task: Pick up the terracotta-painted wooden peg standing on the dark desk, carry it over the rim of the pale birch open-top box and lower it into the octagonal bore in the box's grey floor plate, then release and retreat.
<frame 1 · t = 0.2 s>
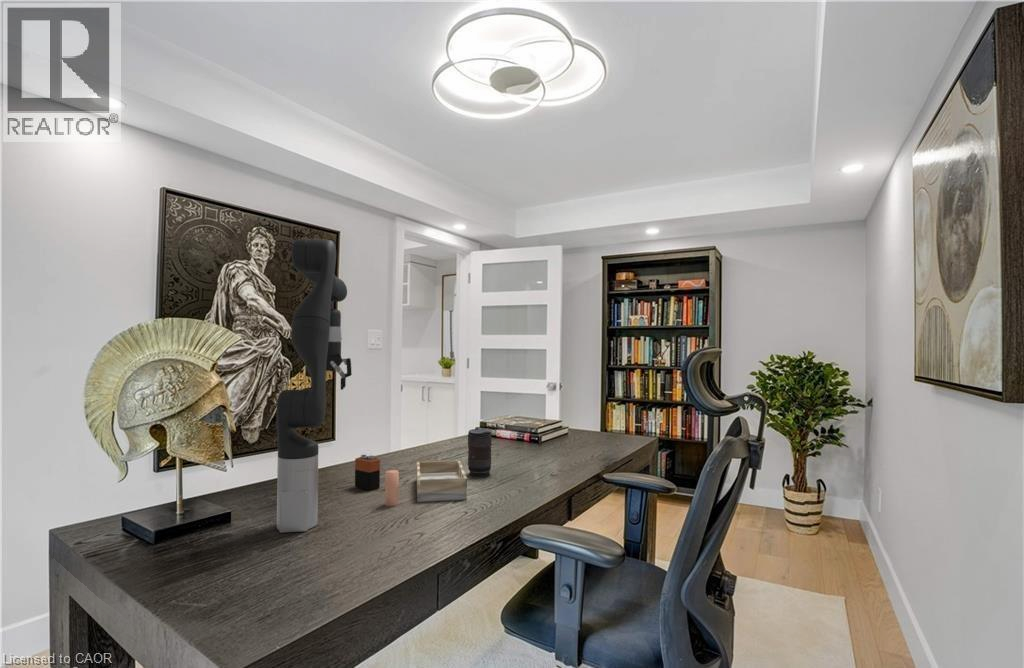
hand: (328, 389, 169), 29 cm above the table, fingers open, 8 cm apart
camera lens: (479, 475, 174), on the table
battery: (367, 488, 158), on the table
peg: (391, 504, 142), on the table
box: (440, 489, 157), on the table
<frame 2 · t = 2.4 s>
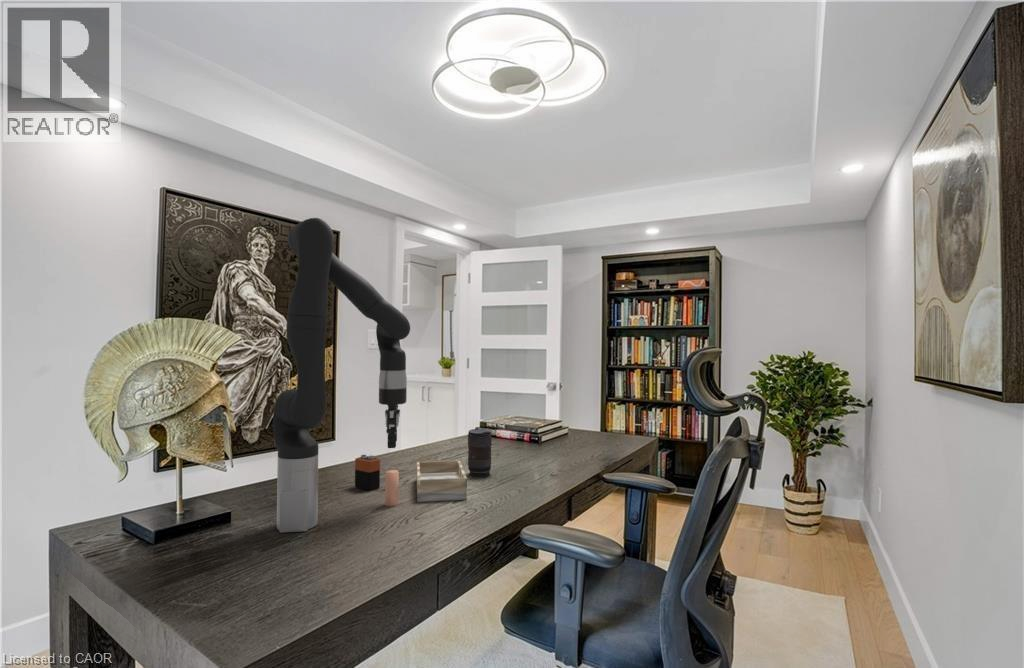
hand: (392, 444, 143), 16 cm above the table, fingers open, 8 cm apart
nothing on the table moved.
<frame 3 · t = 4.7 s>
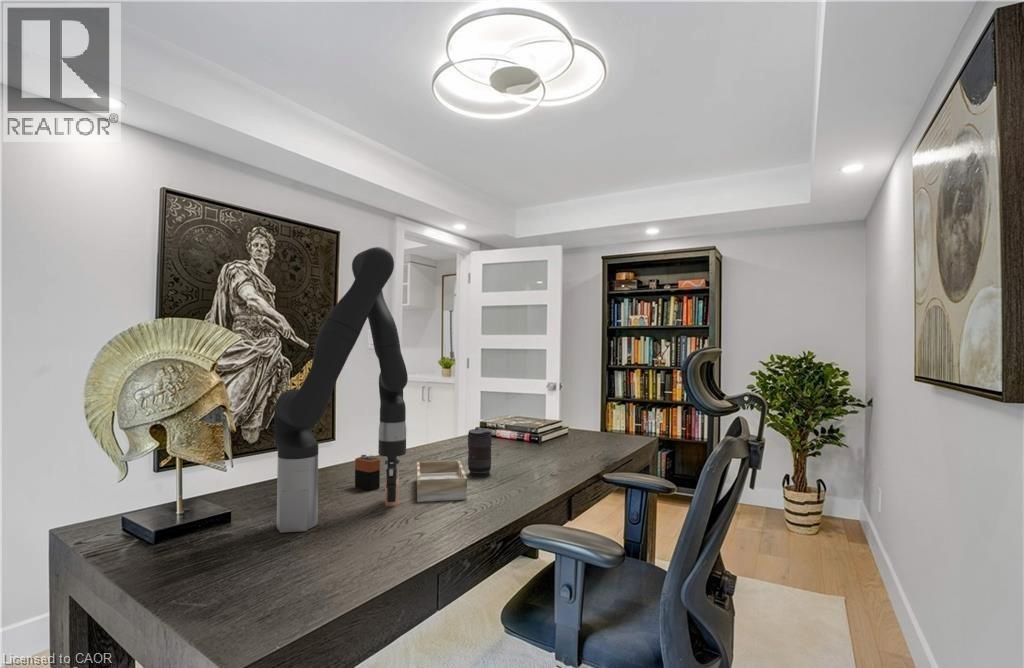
hand: (391, 499, 142), 1 cm above the table, fingers closed on peg, 3 cm apart
peg: (391, 504, 142), on the table, touching gripper
everything else where it was.
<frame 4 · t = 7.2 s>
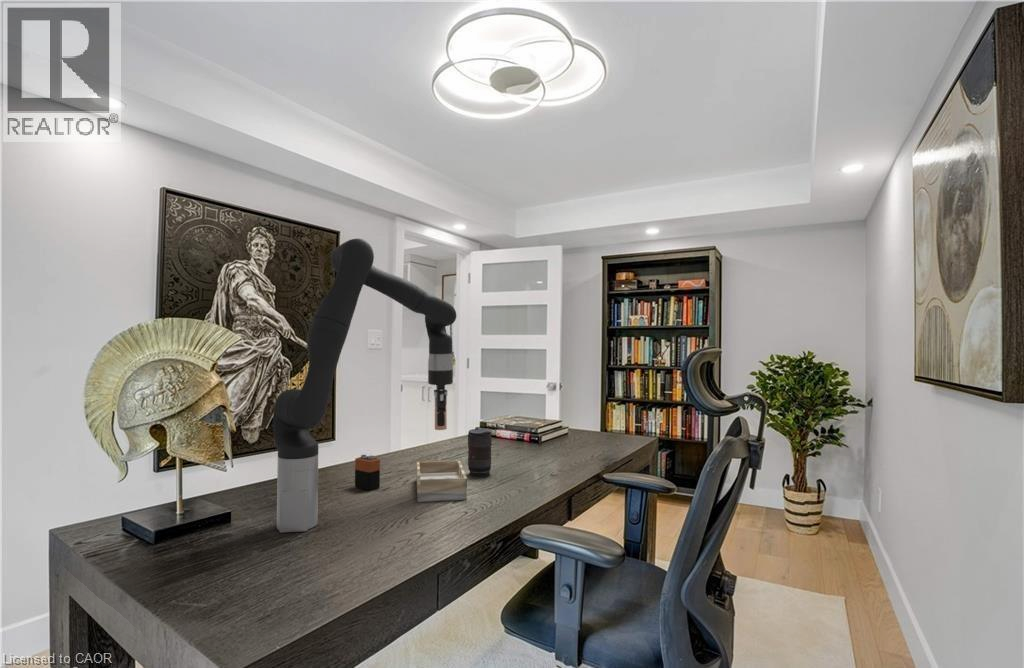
hand: (440, 424, 157), 20 cm above the table, fingers closed on peg, 3 cm apart
peg: (440, 428, 157), point 18 cm above the table, touching gripper
everything else where it was.
when the fingers open (3 cm above the table, at t = 9.9 s): peg drops 2 cm, resting in box.
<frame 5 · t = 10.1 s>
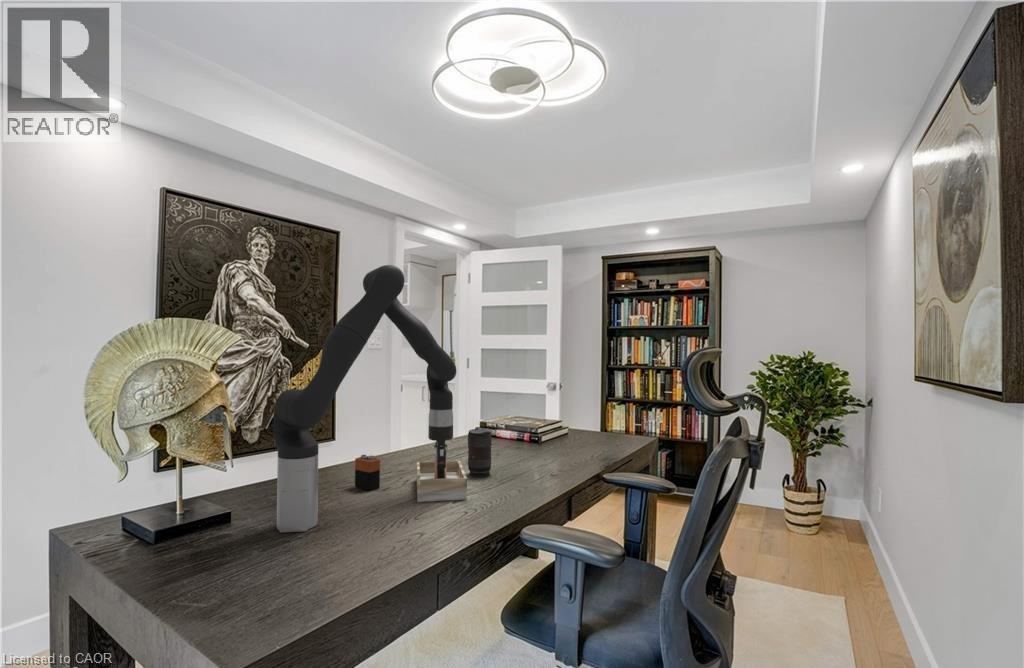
hand: (440, 478, 157), 3 cm above the table, fingers open, 5 cm apart
peg: (440, 489, 157), resting in box
everything else where it was.
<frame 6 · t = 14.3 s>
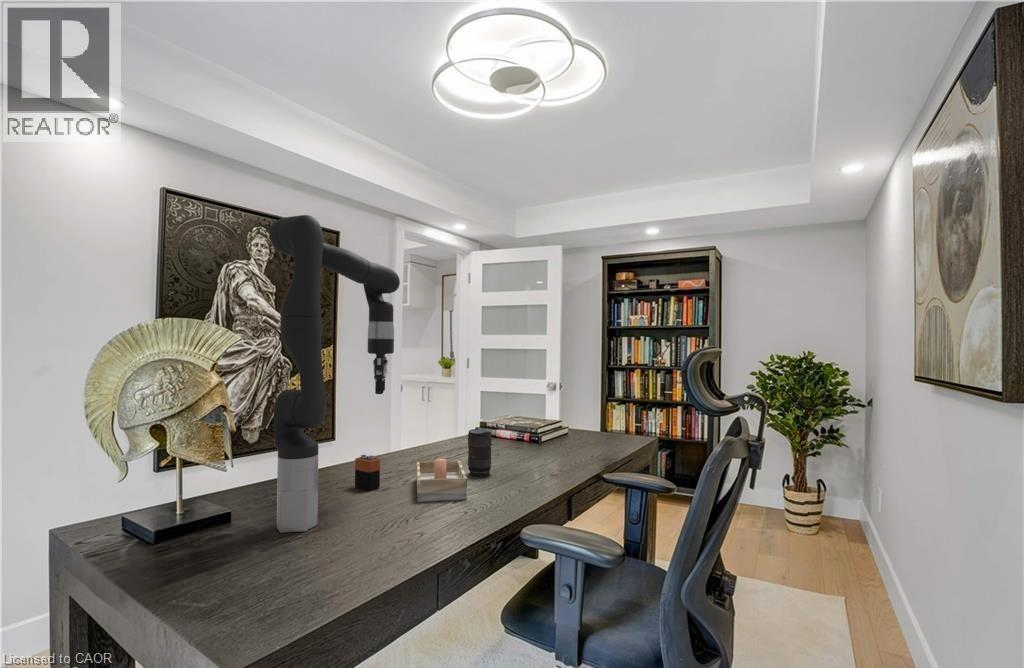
hand: (380, 392, 151), 30 cm above the table, fingers open, 8 cm apart
nothing on the table moved.
at the end: peg 0.0 cm off-centre on the box, point 0.0 cm above the box's base; peg tilted 0°; the gripper is holding nothing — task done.
